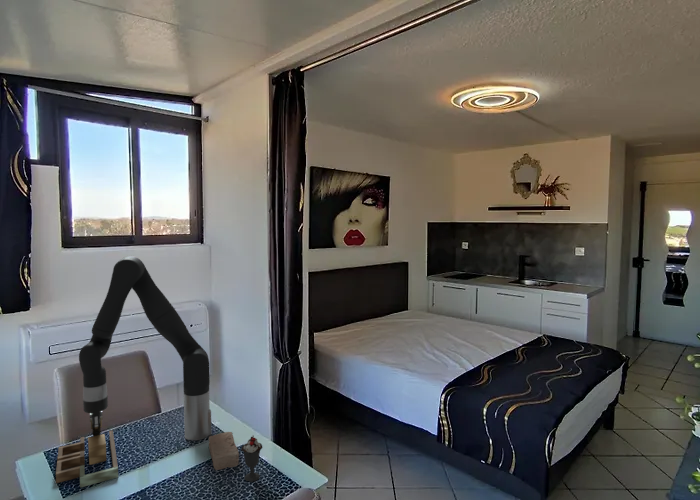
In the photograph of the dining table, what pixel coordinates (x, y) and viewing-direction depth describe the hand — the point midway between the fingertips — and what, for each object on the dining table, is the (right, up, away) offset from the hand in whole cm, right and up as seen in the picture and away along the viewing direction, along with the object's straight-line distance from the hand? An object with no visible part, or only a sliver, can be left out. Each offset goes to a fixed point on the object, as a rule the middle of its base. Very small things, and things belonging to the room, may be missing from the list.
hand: (96, 442), depth 154 cm
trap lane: (+2, -3, -9) cm, 10 cm away
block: (+4, -3, -6) cm, 7 cm away
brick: (+47, -3, -4) cm, 47 cm away
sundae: (+60, -4, -16) cm, 62 cm away
